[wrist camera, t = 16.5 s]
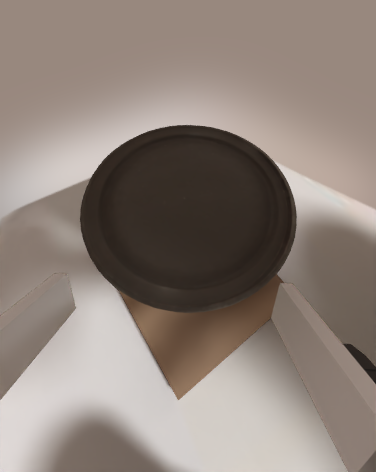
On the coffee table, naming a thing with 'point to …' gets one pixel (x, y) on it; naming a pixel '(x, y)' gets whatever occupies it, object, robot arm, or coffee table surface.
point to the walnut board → (200, 334)
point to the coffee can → (188, 218)
